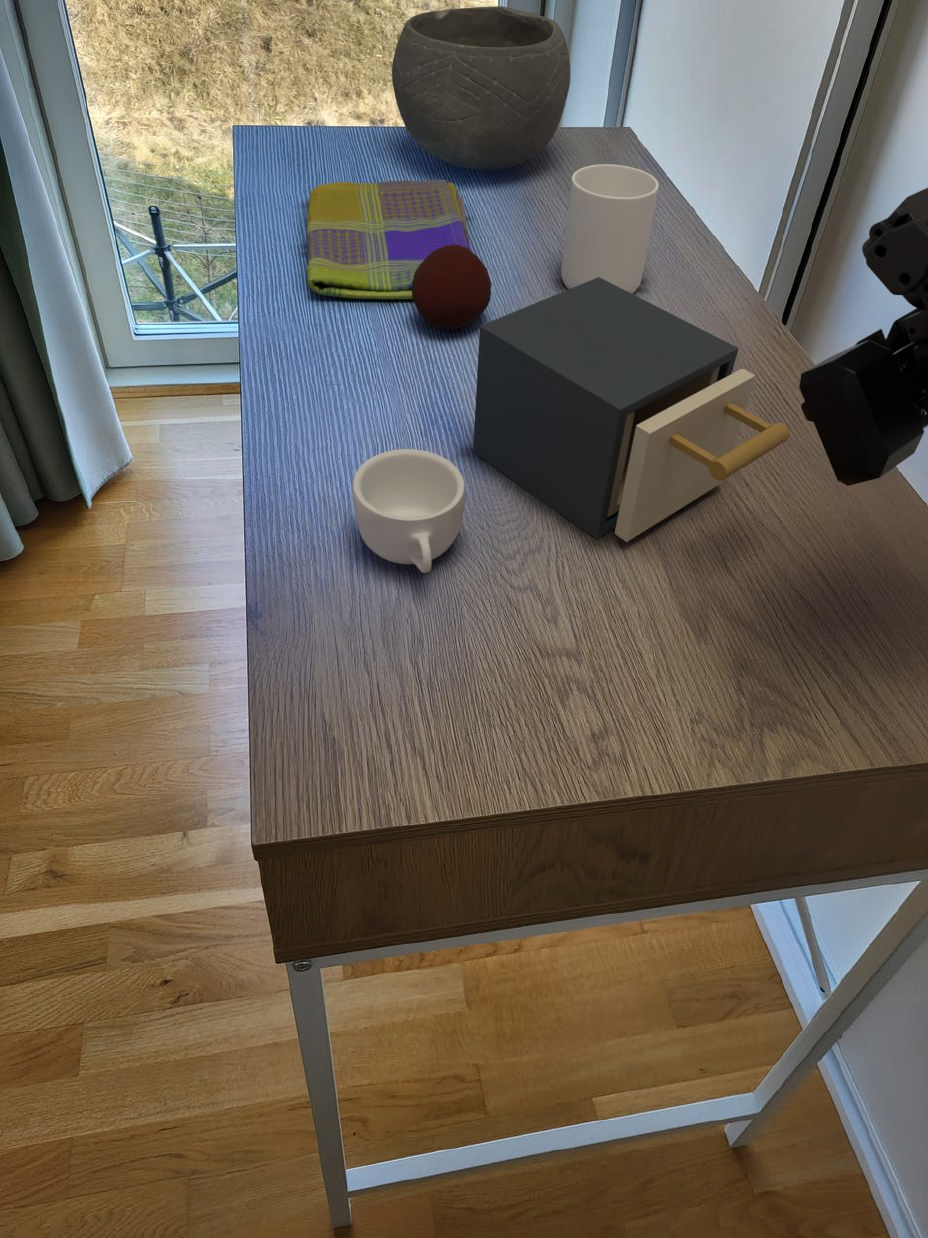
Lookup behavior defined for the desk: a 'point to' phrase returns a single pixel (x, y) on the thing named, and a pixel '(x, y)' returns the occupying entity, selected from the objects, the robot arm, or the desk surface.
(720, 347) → the cabinet
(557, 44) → the bowl
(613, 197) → the cup
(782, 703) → the desk surface
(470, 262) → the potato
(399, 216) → the dish towel
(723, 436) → the drawer
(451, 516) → the teacup
